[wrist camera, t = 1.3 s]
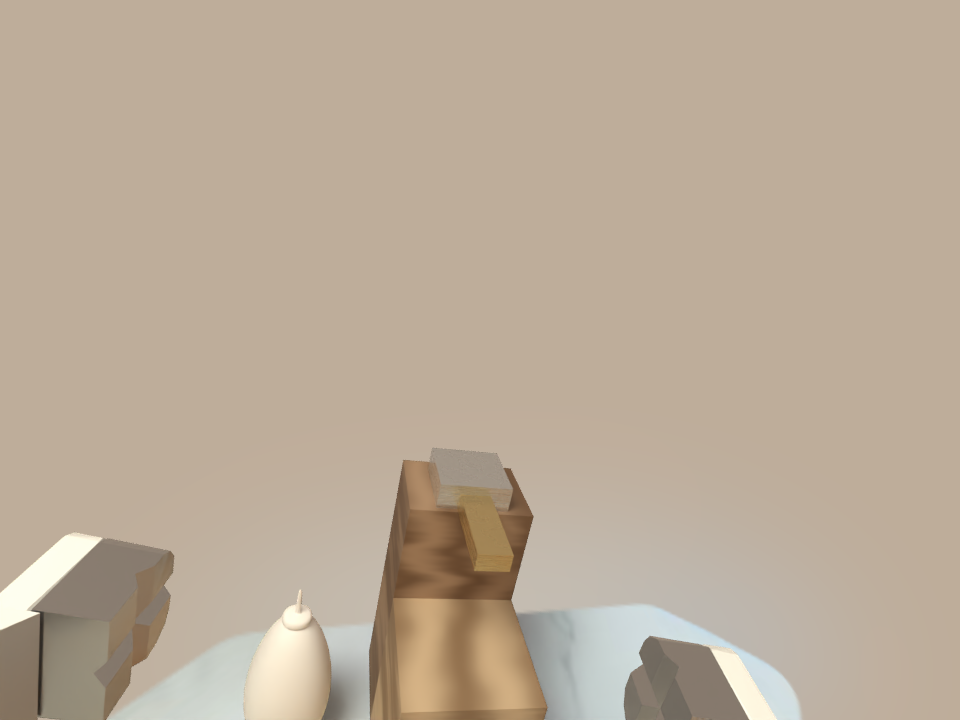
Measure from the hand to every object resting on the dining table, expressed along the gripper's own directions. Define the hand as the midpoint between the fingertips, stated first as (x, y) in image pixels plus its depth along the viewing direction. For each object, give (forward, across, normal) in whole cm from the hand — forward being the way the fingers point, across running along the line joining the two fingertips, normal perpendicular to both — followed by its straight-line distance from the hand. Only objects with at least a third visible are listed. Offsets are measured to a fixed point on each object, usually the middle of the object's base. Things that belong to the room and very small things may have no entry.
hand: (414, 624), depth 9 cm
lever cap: (+37, +7, -21) cm, 43 cm away
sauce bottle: (+34, -6, -48) cm, 59 cm away
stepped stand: (+36, +9, -47) cm, 60 cm away
